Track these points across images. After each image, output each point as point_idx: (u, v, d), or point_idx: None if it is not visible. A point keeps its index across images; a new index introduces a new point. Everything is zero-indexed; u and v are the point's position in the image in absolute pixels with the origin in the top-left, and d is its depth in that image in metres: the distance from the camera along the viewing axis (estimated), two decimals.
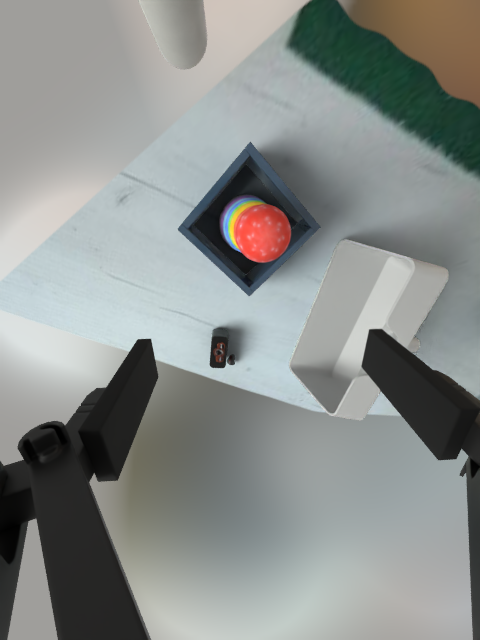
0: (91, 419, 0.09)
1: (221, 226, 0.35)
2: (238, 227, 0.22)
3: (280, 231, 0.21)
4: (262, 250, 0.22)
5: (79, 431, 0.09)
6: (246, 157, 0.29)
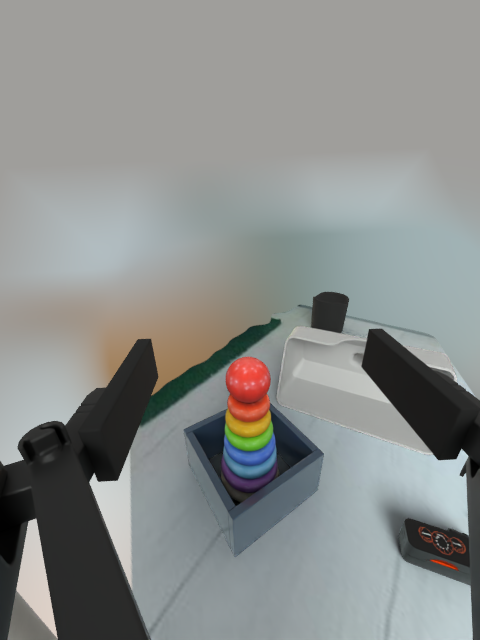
0: (91, 419, 0.09)
1: (244, 486, 0.30)
2: (237, 385, 0.26)
3: (246, 357, 0.29)
4: (257, 365, 0.27)
5: (79, 431, 0.09)
6: (192, 433, 0.33)
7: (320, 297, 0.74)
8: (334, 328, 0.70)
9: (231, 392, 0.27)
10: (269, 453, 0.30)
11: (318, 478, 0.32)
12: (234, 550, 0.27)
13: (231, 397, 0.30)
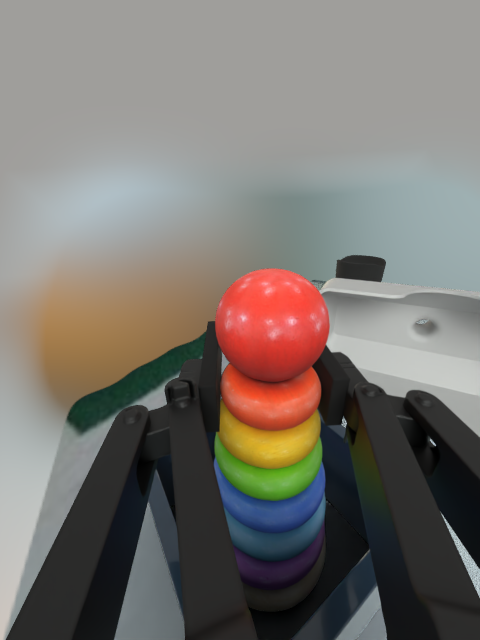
0: (204, 378, 0.11)
1: (258, 577, 0.13)
2: (246, 328, 0.09)
3: None
4: (299, 279, 0.10)
5: (199, 386, 0.11)
6: None
7: (345, 262, 0.57)
8: None
9: (229, 352, 0.10)
10: (317, 502, 0.13)
11: None
12: None
13: (229, 371, 0.12)
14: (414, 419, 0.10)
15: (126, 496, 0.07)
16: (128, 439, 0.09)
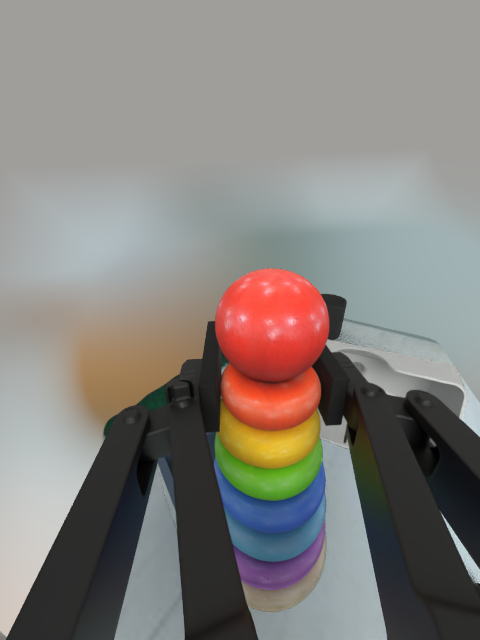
0: (204, 378, 0.11)
1: (258, 576, 0.13)
2: (246, 328, 0.09)
3: None
4: (299, 278, 0.10)
5: (199, 386, 0.11)
6: (164, 460, 0.29)
7: None
8: (330, 332, 0.65)
9: (229, 352, 0.10)
10: (317, 502, 0.13)
11: None
12: None
13: (229, 371, 0.12)
14: (414, 419, 0.10)
15: (126, 496, 0.07)
16: (128, 439, 0.09)
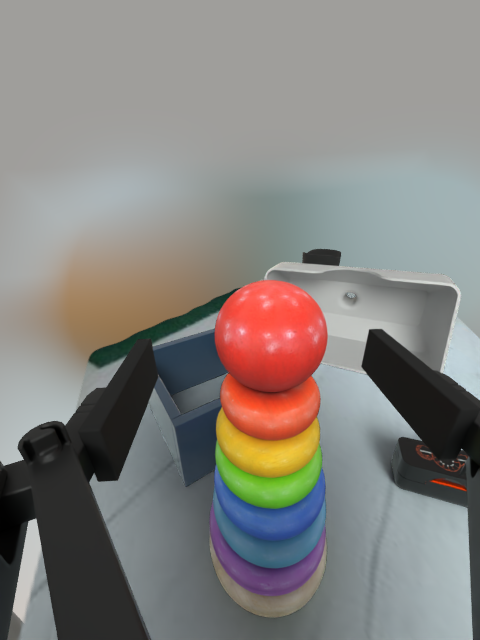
0: (91, 419, 0.09)
1: (259, 583, 0.13)
2: (244, 341, 0.09)
3: None
4: (298, 291, 0.10)
5: (79, 431, 0.09)
6: None
7: None
8: None
9: (228, 364, 0.10)
10: (317, 509, 0.13)
11: None
12: (183, 476, 0.21)
13: (229, 380, 0.13)
14: None
15: None
16: None
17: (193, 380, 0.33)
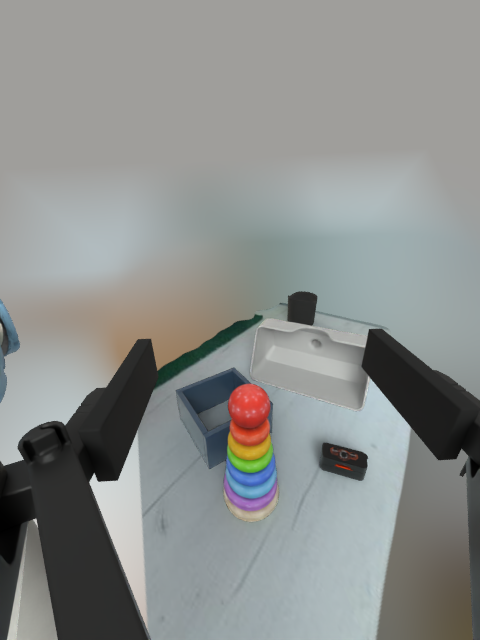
0: (91, 419, 0.09)
1: (246, 505, 0.32)
2: (239, 413, 0.28)
3: (247, 384, 0.31)
4: (258, 393, 0.29)
5: (79, 431, 0.09)
6: (182, 392, 0.47)
7: (294, 296, 0.88)
8: (305, 322, 0.83)
9: (233, 419, 0.29)
10: (269, 474, 0.32)
11: (271, 423, 0.45)
12: (208, 463, 0.40)
13: (233, 421, 0.31)
14: None
15: None
16: None
17: (208, 405, 0.52)
